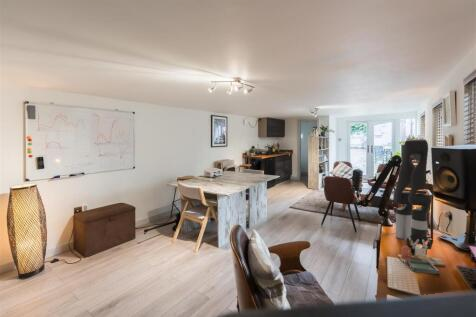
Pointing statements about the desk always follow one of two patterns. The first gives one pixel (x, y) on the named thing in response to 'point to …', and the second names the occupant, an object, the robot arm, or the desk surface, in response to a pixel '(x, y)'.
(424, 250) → the die
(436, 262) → the board
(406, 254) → the pawn
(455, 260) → the desk surface
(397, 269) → the desk surface
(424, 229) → the robot arm
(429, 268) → the tray
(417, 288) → the desk surface
